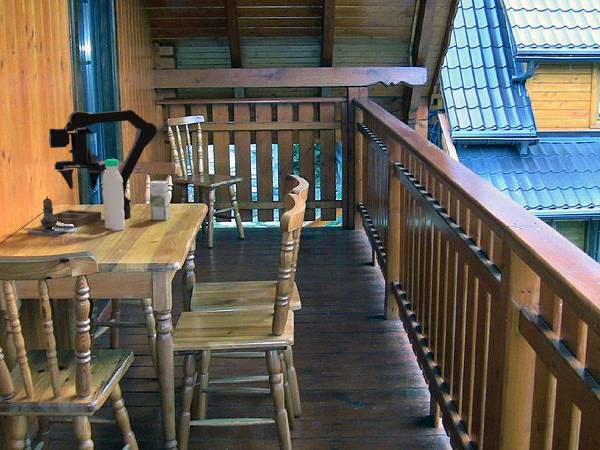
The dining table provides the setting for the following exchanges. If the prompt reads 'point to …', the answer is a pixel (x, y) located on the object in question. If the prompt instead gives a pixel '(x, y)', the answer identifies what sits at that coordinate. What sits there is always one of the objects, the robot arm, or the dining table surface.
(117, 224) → the white bottle
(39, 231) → the slate pad
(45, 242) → the dining table surface
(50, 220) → the grey turned upright piece
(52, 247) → the dining table surface
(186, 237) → the dining table surface
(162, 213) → the syrup box
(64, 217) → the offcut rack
